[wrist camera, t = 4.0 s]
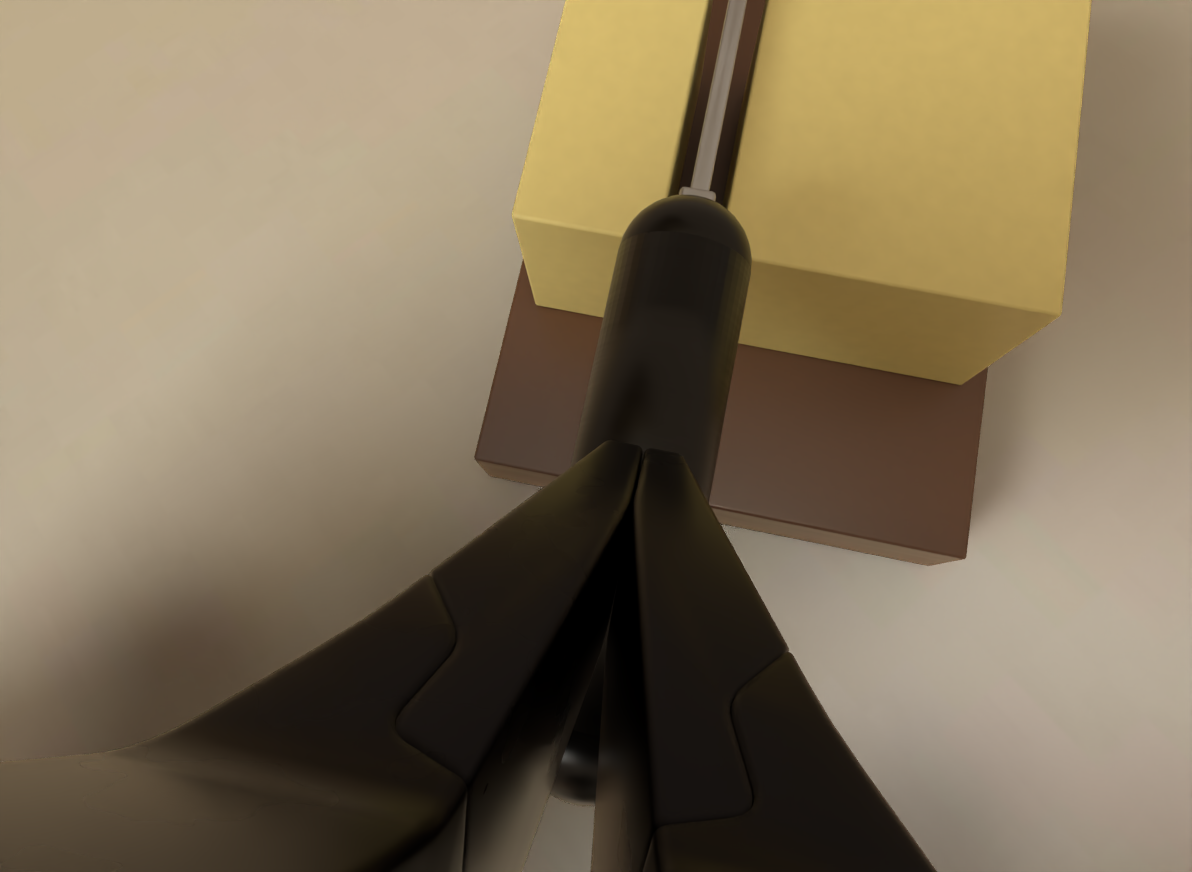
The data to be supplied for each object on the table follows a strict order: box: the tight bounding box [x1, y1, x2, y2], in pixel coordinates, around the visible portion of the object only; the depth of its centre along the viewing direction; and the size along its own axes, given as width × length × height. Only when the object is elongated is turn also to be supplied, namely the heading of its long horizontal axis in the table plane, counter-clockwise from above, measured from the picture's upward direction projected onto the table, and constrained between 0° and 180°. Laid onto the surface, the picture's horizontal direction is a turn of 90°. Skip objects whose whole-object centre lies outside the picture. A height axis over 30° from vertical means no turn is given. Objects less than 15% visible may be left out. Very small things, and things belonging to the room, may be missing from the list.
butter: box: [512, 0, 1092, 385], centre depth 16 cm, size 6×9×4 cm, turn 78°
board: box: [474, 0, 988, 566], centre depth 19 cm, size 13×10×2 cm
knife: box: [550, 0, 752, 806], centre depth 13 cm, size 14×2×5 cm, turn 168°
